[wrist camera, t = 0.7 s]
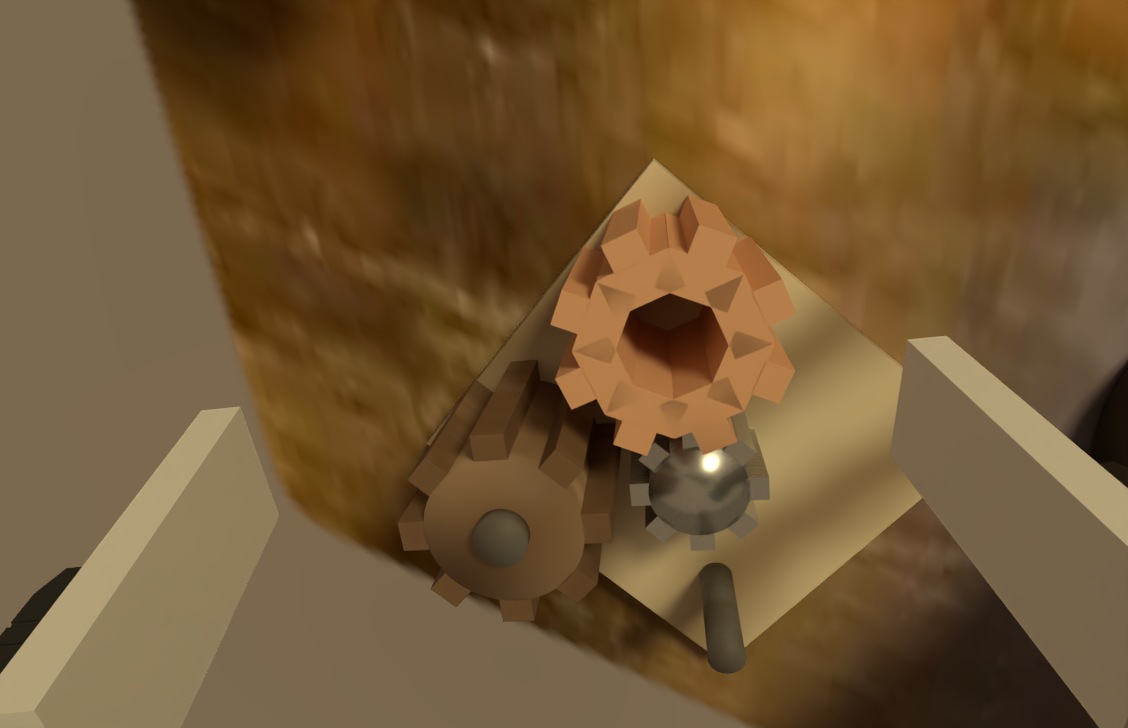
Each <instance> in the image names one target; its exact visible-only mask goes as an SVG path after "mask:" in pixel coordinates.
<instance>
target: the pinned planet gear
mask: <svg viewBox="0 0 1128 728" xmlns="http://www.w3.org/2000/svg"><path fill="white" fill-rule="evenodd" d="M596 401H597V399H595V400H593V401H591V402H588V403H586V404H584V405H581V406H579V407H577V408H574V409H572V410H571V408H570V406H569V404H568V402H567V400H566V398H565V396H564V395H563V393H562V391H561V389H560V387H559V385H556V384H554V383H550V382H546V381H540V375H539V368H538V361H537V360H527V361H514V362H510V364H509V366H508V368H507V370H506V371H505V373H504V375H503V377H502V378H501V380H500V382H499V384H498V386H497V387H496V389H495V391H494V393H493V392H492V391H490V390H489V389H488V388H487V387H485V386H484V385H483V384H481V383H480V382H479V381H477V380H475V381H474V383H473V384H472V385H471V386H470V388H469V389H468V390H467V391H466V393H465V394H464V395H463V396H462V398H461V399H460V401H459V402H458V404H457V405H456V407H455V408H454V410H453V411H452V413H451V414H450V416H449V417H448V419H447V420H446V422H445V423H444V425H443V426H442V428H441V429H440V431H439V432H438V434H437V435H436V437H435V438H434V440H433V441H432V443H431V445H430V446H429V448H428V449H427V451H426V452H425V454H424V455H423V457H422V458H421V460H420V461H419V463H418V464H417V466H416V467H415V469H414V470H413V472H412V473H411V475H410V476H409V478H408V479H407V481H409V482H410V483H412V484H413V485H414V486H416V487H417V488H418V490H417V492H416V494H415V495H414V497H413V498H412V500H411V502H410V503H409V505H408V507H407V508H406V510H405V511H404V513H403V515H402V516H401V518H400V520H399V521H398V527H399V531H400V536H401V540H402V544H403V549H404V551H413V550H430V552H431V554H432V556H433V557H434V559H435V560H436V562H437V563H438V565H439V566H440V567H441V568H440V570H439V572H438V575H437V577H436V579H435V581H434V583H433V585H432V587H431V590H433V591H434V592H436V593H437V594H439V595H440V596H441V597H443V598H444V599H446V600H447V601H449V602H450V603H451V604H453V605H454V606H456V607H457V606H458V605H459V604H460V603H461V602H462V600H463V599H464V598H465V597H466V596H467V595H468V594H469V593H470V592H471V591H472V592H474V593H477V594H479V595H482V596H485V597H489V598H493V599H498V600H499V601H500V607H501V612H502V618H503V621H534V620H535V615H536V611H537V607H538V603H539V598H540V596H542V595H545V594H547V593H549V592H551V591H553V590H554V589H557V590H559V591H560V592H561V593H563V594H564V595H566V596H567V597H568V598H570V599H571V600H572V601H574V602H575V603H577V604H578V603H579V602H580V601H581V600H582V599H583V598H584V597H585V596H586V595H587V594H588V593H589V592H590V591H591V590H592V589H593V588H594V587H595V586H596V585H597V584H598V575H599V567H600V558H601V550H602V543H612V539H613V529H614V518H615V508H616V497H617V487H618V476H619V466H620V455H621V447H619V446H616V445H613V443H614V434H615V426H616V423H605V424H597V423H596V421H595V419H594V417H593V416H594V411H595V406H596Z"/></svg>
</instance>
